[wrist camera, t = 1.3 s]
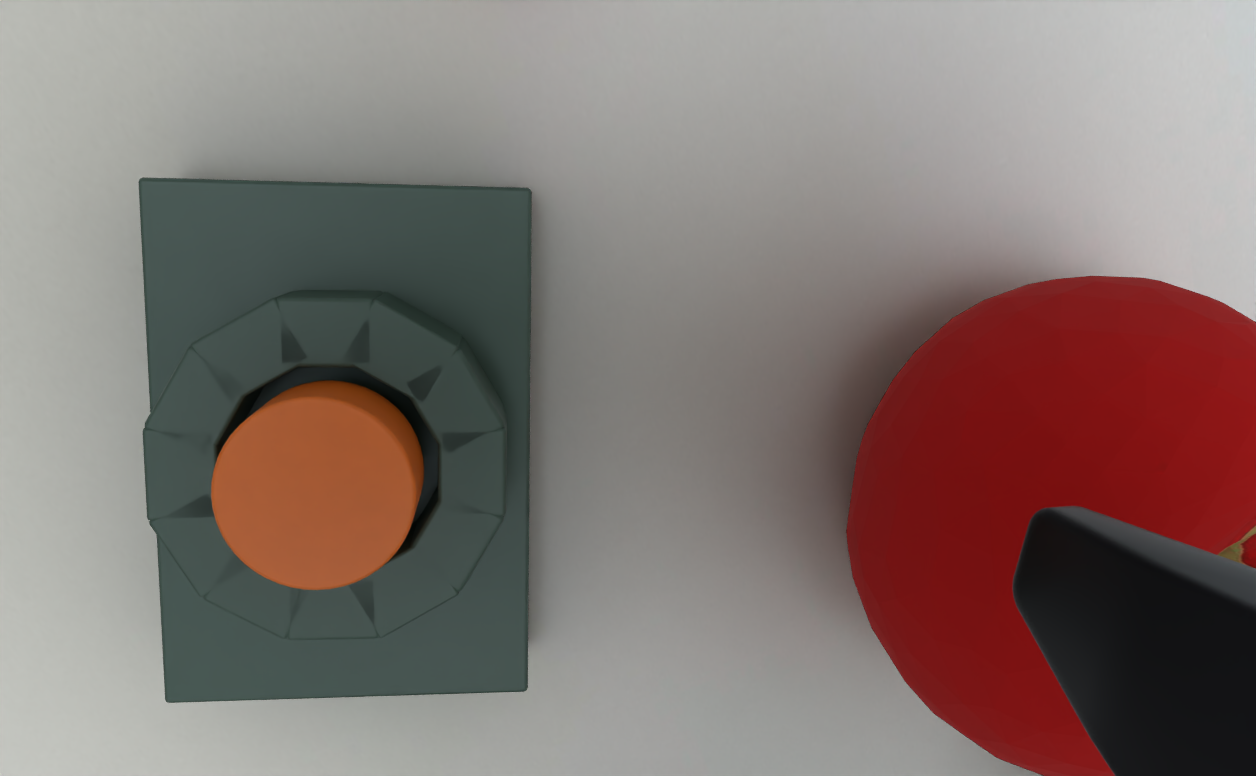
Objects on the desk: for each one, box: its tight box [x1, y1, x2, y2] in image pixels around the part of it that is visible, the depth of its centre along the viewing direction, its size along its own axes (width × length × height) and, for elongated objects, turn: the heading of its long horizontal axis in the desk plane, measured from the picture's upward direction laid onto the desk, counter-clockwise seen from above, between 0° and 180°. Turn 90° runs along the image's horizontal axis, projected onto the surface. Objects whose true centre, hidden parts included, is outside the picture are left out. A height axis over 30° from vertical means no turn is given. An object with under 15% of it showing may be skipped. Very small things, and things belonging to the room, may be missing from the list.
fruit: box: [846, 276, 1256, 776], centre depth 19 cm, size 9×9×10 cm
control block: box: [139, 178, 532, 703], centre depth 20 cm, size 10×7×4 cm
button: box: [211, 380, 424, 590], centre depth 17 cm, size 3×3×2 cm
